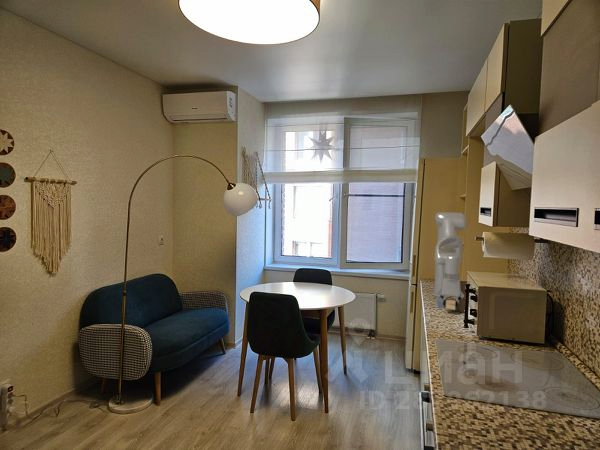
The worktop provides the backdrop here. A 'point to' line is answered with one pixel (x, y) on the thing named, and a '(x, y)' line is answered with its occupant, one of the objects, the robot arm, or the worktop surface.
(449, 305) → the oak cube
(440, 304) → the slate base block
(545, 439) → the worktop surface
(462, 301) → the wooden block
